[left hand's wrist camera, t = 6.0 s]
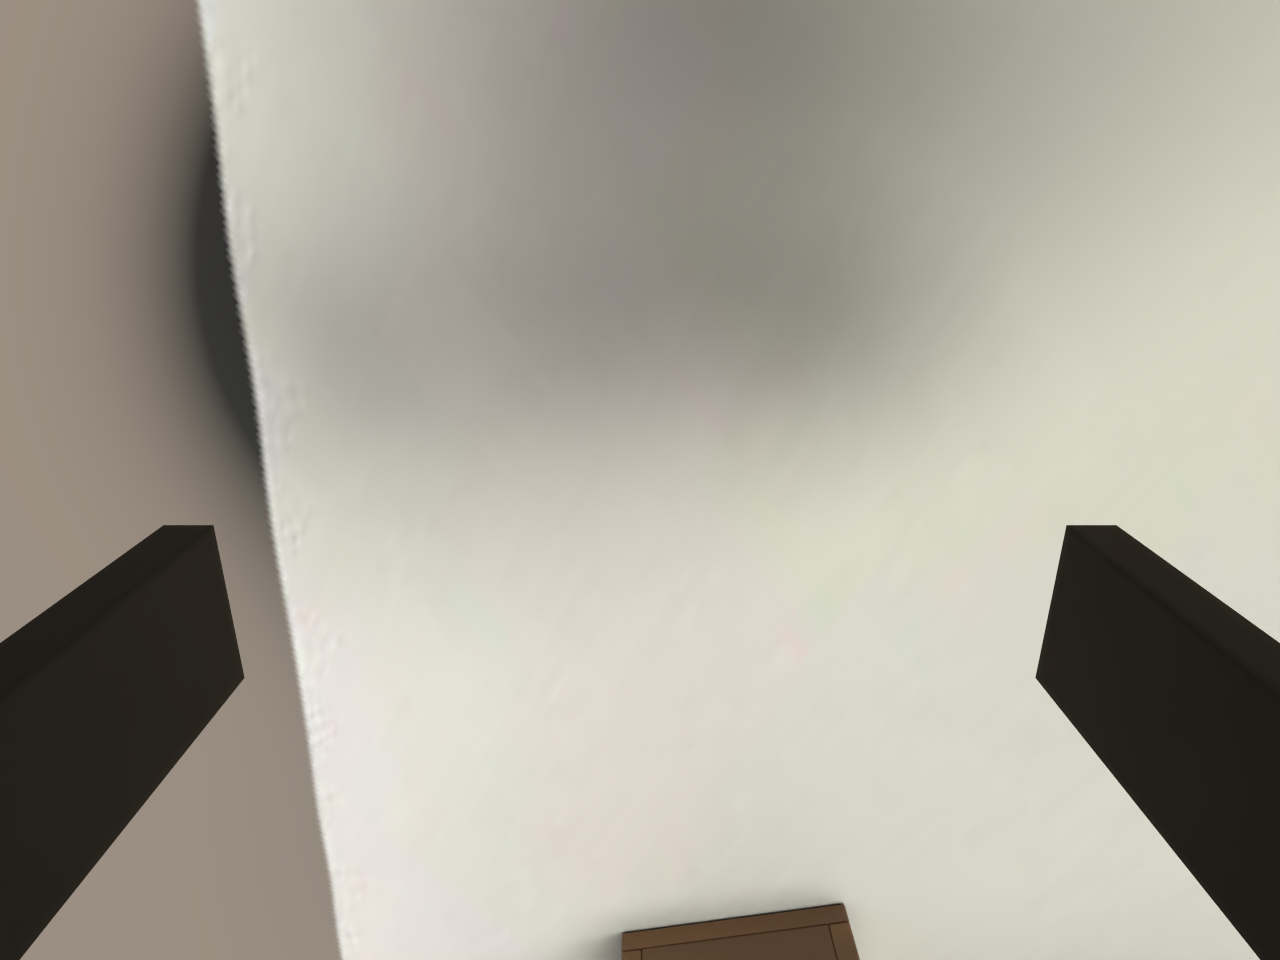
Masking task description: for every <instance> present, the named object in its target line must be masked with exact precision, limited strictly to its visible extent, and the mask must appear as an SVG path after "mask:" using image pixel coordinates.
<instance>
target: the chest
mask: <svg viewBox="0 0 1280 960" xmlns="http://www.w3.org/2000/svg"><path fill="white" fill-rule="evenodd" d="M622 960H860V959H859V955H858V952H857V948H856V945H855V941H854V937H853V934H852V930H851V927H850V924H849V920H848V916H847V912H846V909H845V906H844V905H843V904H842V905H834V906H827V907H819V908H812V909H804V910H797V911H789V912H782V913H774V914H767V915H759V916H752V917H744V918H736V919H729V920H721V921H714V922H706V923H699V924H691V925H684V926H676V927H669V928H661V929H654V930H646V931H639V932H631V933H624V934H622Z"/></svg>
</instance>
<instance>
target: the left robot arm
mask: <svg viewBox="0 0 1280 960" xmlns="http://www.w3.org/2000/svg"><path fill="white" fill-rule="evenodd" d="M243 679H244V674H243V669H242V664H241V659H240V654H239V649H238V644H237V639H236V634H235V629H234V624H233V619H232V615H231V610H230V605H229V600H228V595H227V590H226V585H225V580H224V575H223V570H222V565H221V561H220V555H219V551H218V546H217V541H216V536H215V531H214V526H213V525H164V526H162V527H161V528H159V529H158V530H156V531H155V532H154V533H152V534H151V535H150V536H148V537H147V538H145V539H144V540H143V541H141V542H140V543H138V544H137V545H136V546H134V547H133V548H132V549H130V550H129V551H127V552H126V553H125V554H123V555H122V556H120V557H119V558H118V559H116V560H115V561H114V562H112V563H111V564H109V565H108V566H107V567H105V568H104V569H102V570H101V571H100V572H98V573H97V574H96V575H94V576H93V577H91V578H90V579H89V580H87V581H86V582H84V583H83V584H82V585H80V586H79V587H77V588H76V589H75V590H73V591H72V592H71V593H69V594H68V595H66V596H65V597H64V598H62V599H61V600H59V601H58V602H57V603H55V604H54V605H53V606H51V607H50V608H48V609H47V610H46V611H44V612H43V613H41V614H40V615H39V616H37V617H36V618H34V619H33V620H32V621H30V622H29V623H28V624H26V625H25V626H23V627H22V628H21V629H19V630H18V631H16V632H15V633H14V634H12V635H11V636H9V637H8V638H7V639H5V640H4V641H3V642H1V643H0V960H20V958H21V957H22V956H23V955H24V953H25V952H26V951H27V950H28V948H29V947H30V946H31V945H32V943H33V942H34V941H35V940H36V938H37V937H38V936H39V935H40V933H41V932H42V931H43V930H44V928H45V927H46V926H47V925H48V923H49V922H50V921H51V920H52V918H53V917H54V916H55V915H56V913H57V912H58V911H59V910H60V908H61V907H62V906H63V905H64V903H65V902H66V901H67V900H68V898H69V897H70V896H71V895H72V893H73V892H74V891H75V890H76V888H77V887H78V886H79V885H80V883H81V882H82V881H83V880H84V878H85V877H86V876H87V874H88V873H89V872H90V871H91V869H92V868H93V867H94V866H95V864H96V863H97V862H98V861H99V859H100V858H101V857H102V856H103V854H104V853H105V852H106V851H107V849H108V848H109V847H110V846H111V844H112V843H113V842H114V841H115V839H116V838H117V837H118V836H119V834H120V833H121V832H122V831H123V829H124V828H125V827H126V826H127V824H128V823H129V822H130V820H131V819H132V818H133V817H134V816H135V814H136V813H137V812H138V811H139V809H140V808H141V807H142V806H143V804H144V803H145V802H146V800H147V799H148V798H149V797H150V795H151V794H152V793H153V792H154V790H155V789H156V788H157V787H158V785H159V784H160V783H161V782H162V780H163V779H164V778H165V777H166V775H167V774H168V773H169V772H170V770H171V769H172V768H173V767H174V765H175V764H176V763H177V762H178V760H179V759H180V758H181V757H182V755H183V754H184V753H185V752H186V750H187V749H188V748H189V747H190V745H191V744H192V743H193V742H194V740H195V739H196V738H197V737H198V735H199V734H200V733H201V732H202V730H203V729H204V728H205V727H206V725H207V724H208V723H209V721H210V720H211V719H212V718H213V717H214V715H215V714H216V713H217V711H218V710H219V709H220V708H221V706H222V705H223V704H224V703H225V701H226V700H227V699H228V698H229V696H230V695H231V694H232V693H233V691H234V690H235V689H236V688H237V686H238V685H239V684H240V683H241V681H242V680H243ZM1036 679H1037V680H1038V681H1039V683H1040V684H1041V685H1042V686H1043V688H1044V689H1045V690H1046V691H1047V693H1048V694H1049V695H1050V696H1051V698H1052V699H1053V700H1054V701H1055V703H1056V704H1057V705H1058V706H1059V708H1060V709H1061V710H1062V711H1063V713H1064V714H1065V715H1066V717H1067V718H1068V719H1069V720H1070V722H1071V723H1072V724H1073V725H1074V727H1075V728H1076V729H1077V730H1078V732H1079V733H1080V734H1081V735H1082V737H1083V738H1084V739H1085V740H1086V742H1087V743H1088V744H1089V745H1090V747H1091V748H1092V749H1093V750H1094V752H1095V753H1096V754H1097V755H1098V757H1099V758H1100V759H1101V760H1102V762H1103V763H1104V764H1105V765H1106V767H1107V768H1108V769H1109V770H1110V772H1111V773H1112V774H1113V775H1114V777H1115V778H1116V779H1117V780H1118V782H1119V783H1120V784H1121V785H1122V787H1123V788H1124V789H1125V790H1126V792H1127V793H1128V794H1129V795H1130V797H1131V798H1132V799H1133V801H1134V802H1135V803H1136V804H1137V806H1138V807H1139V808H1140V809H1141V811H1142V812H1143V813H1144V814H1145V816H1146V817H1147V818H1148V819H1149V821H1150V822H1151V823H1152V824H1153V826H1154V827H1155V828H1156V829H1157V831H1158V832H1159V833H1160V834H1161V836H1162V837H1163V838H1164V839H1165V841H1166V842H1167V843H1168V844H1169V846H1170V847H1171V848H1172V849H1173V851H1174V852H1175V853H1176V854H1177V856H1178V857H1179V858H1180V859H1181V861H1182V862H1183V863H1184V864H1185V866H1186V867H1187V868H1188V869H1189V871H1190V872H1191V873H1192V874H1193V876H1194V877H1195V878H1196V880H1197V881H1198V882H1199V883H1200V885H1201V886H1202V887H1203V888H1204V890H1205V891H1206V892H1207V893H1208V895H1209V896H1210V897H1211V898H1212V900H1213V901H1214V902H1215V903H1216V905H1217V906H1218V907H1219V908H1220V910H1221V911H1222V912H1223V913H1224V915H1225V916H1226V917H1227V918H1228V920H1229V921H1230V922H1231V923H1232V925H1233V926H1234V927H1235V928H1236V930H1237V931H1238V932H1239V933H1240V935H1241V936H1242V937H1243V938H1244V940H1245V941H1246V942H1247V943H1248V945H1249V946H1250V947H1251V948H1252V950H1253V951H1254V952H1255V953H1256V955H1257V956H1258V957H1259V959H1260V960H1280V643H1279V642H1277V641H1276V640H1275V639H1273V638H1272V637H1270V636H1269V635H1268V634H1266V633H1265V632H1264V631H1262V630H1261V629H1259V628H1258V627H1257V626H1255V625H1254V624H1252V623H1251V622H1250V621H1248V620H1247V619H1246V618H1244V617H1243V616H1241V615H1240V614H1239V613H1237V612H1236V611H1234V610H1233V609H1232V608H1230V607H1229V606H1228V605H1226V604H1225V603H1223V602H1222V601H1221V600H1219V599H1218V598H1216V597H1215V596H1214V595H1212V594H1211V593H1209V592H1208V591H1207V590H1205V589H1204V588H1203V587H1201V586H1200V585H1198V584H1197V583H1196V582H1194V581H1193V580H1191V579H1190V578H1189V577H1187V576H1186V575H1185V574H1183V573H1182V572H1180V571H1179V570H1178V569H1176V568H1175V567H1173V566H1172V565H1171V564H1169V563H1168V562H1167V561H1165V560H1164V559H1162V558H1161V557H1160V556H1158V555H1157V554H1155V553H1154V552H1153V551H1151V550H1150V549H1148V548H1147V547H1146V546H1144V545H1143V544H1142V543H1140V542H1139V541H1137V540H1136V539H1135V538H1133V537H1132V536H1130V535H1129V534H1128V533H1126V532H1125V531H1124V530H1122V529H1121V528H1119V527H1118V526H1117V525H1067V526H1066V531H1065V536H1064V541H1063V546H1062V551H1061V555H1060V560H1059V565H1058V570H1057V575H1056V580H1055V585H1054V590H1053V595H1052V600H1051V605H1050V610H1049V614H1048V619H1047V624H1046V629H1045V634H1044V639H1043V644H1042V649H1041V654H1040V659H1039V664H1038V669H1037V673H1036Z"/></svg>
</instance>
